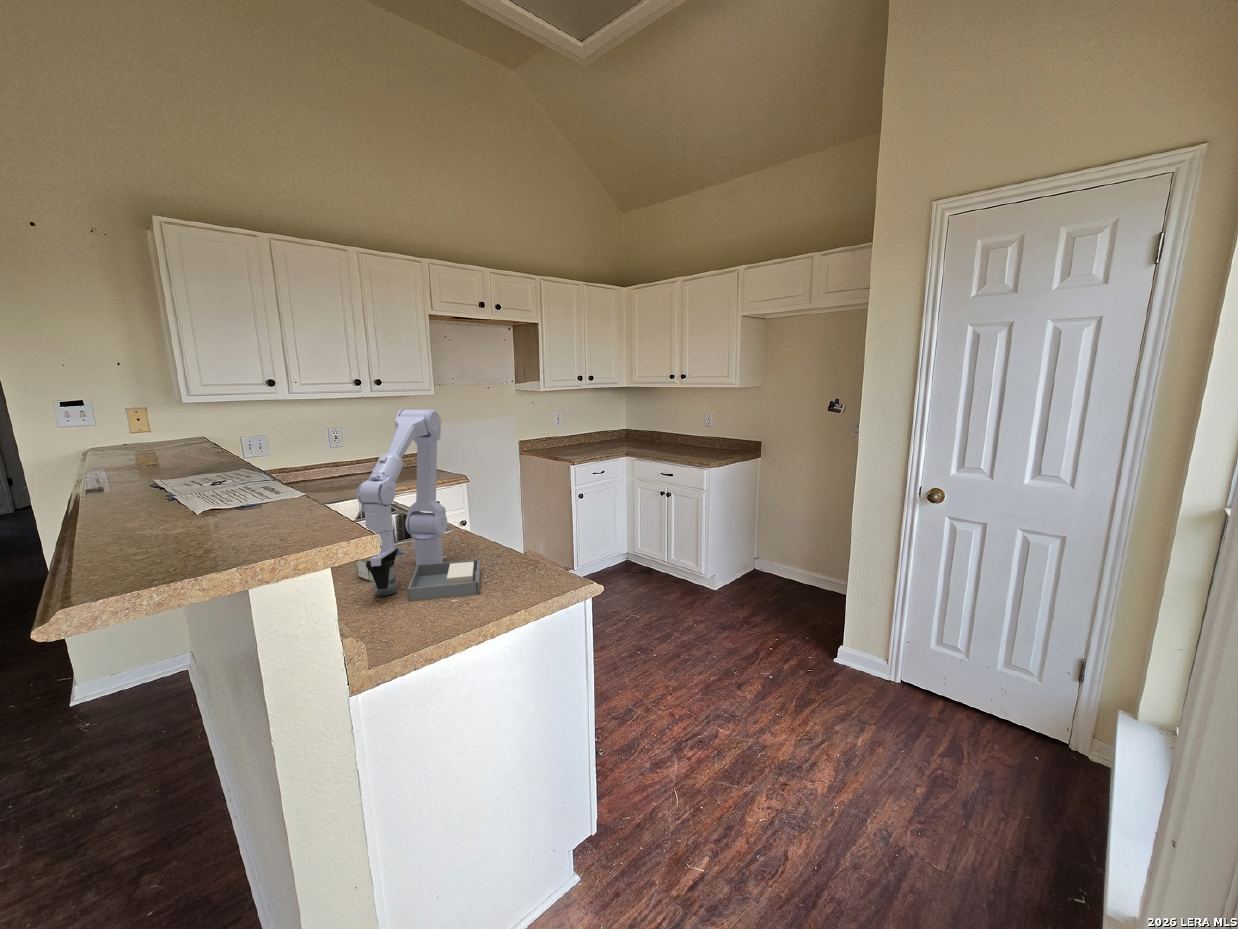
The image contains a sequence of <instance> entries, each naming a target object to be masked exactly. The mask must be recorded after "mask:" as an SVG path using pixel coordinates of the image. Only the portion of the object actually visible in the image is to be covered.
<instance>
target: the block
mask: <svg viewBox="0 0 1238 929" xmlns="http://www.w3.org/2000/svg"><path fill="white" fill-rule="evenodd" d="M474 576H475V573H474V562H463V563H451V564H450V566H449V570H448V575H447V584H456V583H466V582H474Z"/></svg>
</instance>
